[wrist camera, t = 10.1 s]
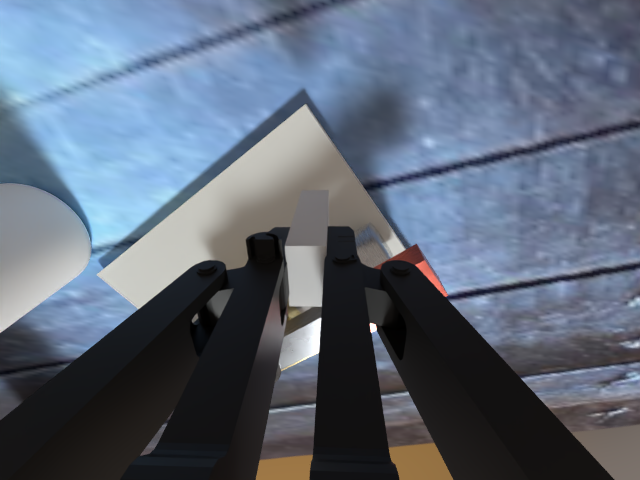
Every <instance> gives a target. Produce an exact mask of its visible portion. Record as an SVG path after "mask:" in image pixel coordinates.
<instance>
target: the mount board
mask: <svg viewBox="0 0 640 480" xmlns="http://www.w3.org/2000/svg"><path fill="white" fill-rule="evenodd" d="M305 190H329V226H349V227H350V228H351V229H352V230H354V231H356V230H358V229H359V228H361V227H362V226H364V225H366V224H367V223H369V222H370V223H372V224H373V225H374V226H375V228H376V229H377V230H378V231H379V233H380V234H381V236H382V237H383V239H384V240H385V242H386V243H387V245H388V247H389V248H390V250H391V252H392V254H393V256H395V255H397V254H399V253H401V252H403V251H404V250H406V248H405V246H404V245H403V243H402V242H401V241H400V239H399V238H398V236H397V235H396V233H395V232H394V230H393V229H392V227H391V226H390V225H389V223H388V222H387V220H386V219H385V217H384V216H383V214H382V213H381V211H380V210H379V209H378V207H377V206H376V204H375V203H374V201H373V200H372V198H371V197H370V195H369V194H368V192H367V191H366V190H365V188H364V187H363V185H362V184H361V182H360V181H359V179H358V178H357V176H356V175H355V174H354V172H353V171H352V169H351V168H350V166H349V165H348V163H347V162H346V160H345V159H344V158H343V156H342V155H341V153H340V152H339V150H338V149H337V147H336V146H335V144H334V143H333V142H332V140H331V139H330V137H329V136H328V134H327V133H326V131H325V130H324V128H323V127H322V126H321V124H320V123H319V121H318V120H317V118H316V117H315V115H314V114H313V112H312V111H311V110H310V108H309V107H308V105H307V104H305V105H304V106H302V107H301V108H300V109H299V110H297V111H296V112H295V113H294V114H293V115H291V116H290V117H289V118H288V119H286V120H285V121H284V122H283V123H282V124H280V125H279V126H278V127H277V128H275V129H274V130H273V131H272V132H271V133H269V134H268V135H267V136H266V137H264V138H263V139H262V140H261V141H260V142H258V143H257V144H256V145H255V146H253V147H252V148H251V149H250V150H249V151H247V152H246V153H245V154H244V155H242V156H241V157H240V158H239V159H238V160H236V161H235V162H234V163H233V164H231V165H230V166H229V167H228V168H227V169H225V170H224V171H223V172H222V173H220V174H219V175H218V176H217V177H216V178H214V179H213V180H212V181H211V182H209V183H208V184H207V185H206V186H205V187H203V188H202V189H201V190H200V191H198V192H197V193H196V194H195V195H193V196H192V197H191V198H190V199H189V200H187V201H186V202H185V203H184V204H182V205H181V206H180V207H179V208H178V209H176V210H175V211H174V212H173V213H171V214H170V215H169V216H168V217H167V218H165V219H164V220H163V221H162V222H160V223H159V224H158V225H157V226H156V227H154V228H153V229H152V230H151V231H149V232H148V233H147V234H146V235H145V236H143V237H142V238H141V239H140V240H138V241H137V242H136V243H135V244H134V245H132V246H131V247H130V248H129V249H127V250H126V251H125V252H124V253H123V254H121V255H120V256H119V257H118V258H116V259H115V260H114V261H113V262H112V263H110V264H109V265H108V266H107V267H105V268H104V269H103V270H102V271H100V272H99V273H98V274H97V275H98V276H99V277H100V278H101V279H102V280H104V281H105V282H106V283H107V284H108V285H110V286H111V287H112V288H113V289H115V290H116V291H117V292H118V293H119V294H121V295H122V296H123V297H124V298H126V299H127V300H128V301H129V302H130V303H132V304H133V305H134V306H135V307H136V308H138V309H140V308H141V307H142V306H143V305H145V304H146V303H147V302H148V301H149V300H151V299H152V298H153V297H154V296H156V295H157V294H158V293H159V292H161V291H162V290H163V289H164V288H166V287H167V286H168V285H169V284H171V283H172V282H173V281H174V280H176V279H177V278H178V277H179V276H181V275H182V274H183V273H184V272H186V271H187V270H188V269H189V268H191V267H192V266H194V265H195V264H197V263H200V262H202V261H206V260H207V261H208V260H218V261H221V262H223V263H224V264H226V269H227V270H230V269H236V268H241V267H244V266H245V265H246V263H247V261H248V254H247V247H246V238H247V237H248V236H250V235H252V234H255V233H259V232H269V231H270V230H271V229H273V228H274V227H291V224H292V220H293V217H294V214H295V211H296V207H297V204H298V201H299V198H300V194H301V191H305ZM197 319H198V315H197V314H196V315H195V316H194V318H193V319H192V323H194V322H195V321H196V320H197Z"/></svg>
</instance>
